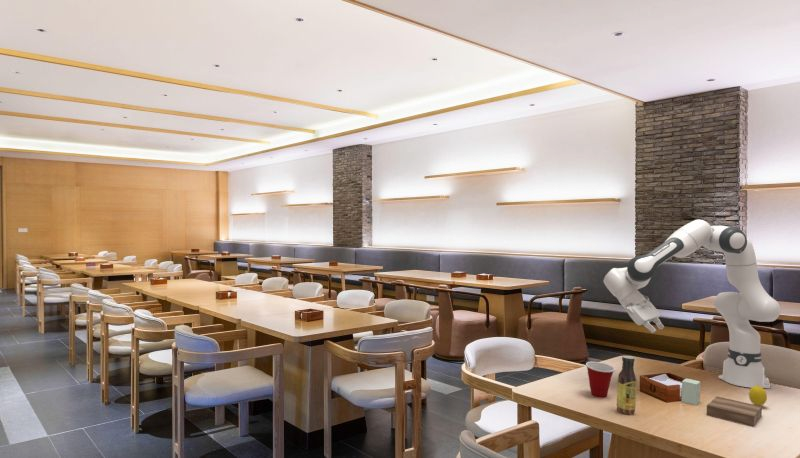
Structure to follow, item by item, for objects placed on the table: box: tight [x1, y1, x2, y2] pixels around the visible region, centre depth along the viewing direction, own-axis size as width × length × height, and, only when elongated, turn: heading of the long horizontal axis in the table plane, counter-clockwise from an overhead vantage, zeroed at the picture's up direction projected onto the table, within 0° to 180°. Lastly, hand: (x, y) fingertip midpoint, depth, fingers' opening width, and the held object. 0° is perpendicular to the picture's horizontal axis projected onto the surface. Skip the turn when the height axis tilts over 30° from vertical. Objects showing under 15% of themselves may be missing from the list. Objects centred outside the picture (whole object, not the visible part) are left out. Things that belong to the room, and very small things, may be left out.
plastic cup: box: [585, 361, 616, 399], centre depth 199 cm, size 11×11×12 cm
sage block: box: [681, 378, 701, 406], centre depth 194 cm, size 5×5×8 cm
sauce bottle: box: [616, 355, 638, 415], centre depth 182 cm, size 6×6×20 cm
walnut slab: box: [706, 396, 763, 428], centre depth 180 cm, size 14×14×4 cm
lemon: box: [748, 385, 768, 406], centre depth 190 cm, size 6×6×8 cm
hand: (658, 330), depth 202 cm, fingers open, 8 cm apart
